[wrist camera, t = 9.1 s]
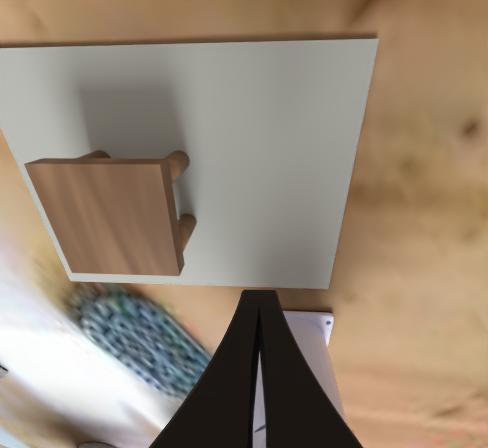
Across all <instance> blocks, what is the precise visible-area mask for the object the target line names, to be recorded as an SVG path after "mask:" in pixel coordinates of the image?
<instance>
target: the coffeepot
mask: <svg viewBox="0 0 488 448" xmlns="http://www.w3.org/2000/svg"><path fill="white" fill-rule="evenodd" d="M78 448H116V447H113V446H110V445H107V444H102V443H93V442H91V443H84V444H81V445H80V446H79V447H78Z"/></svg>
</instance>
